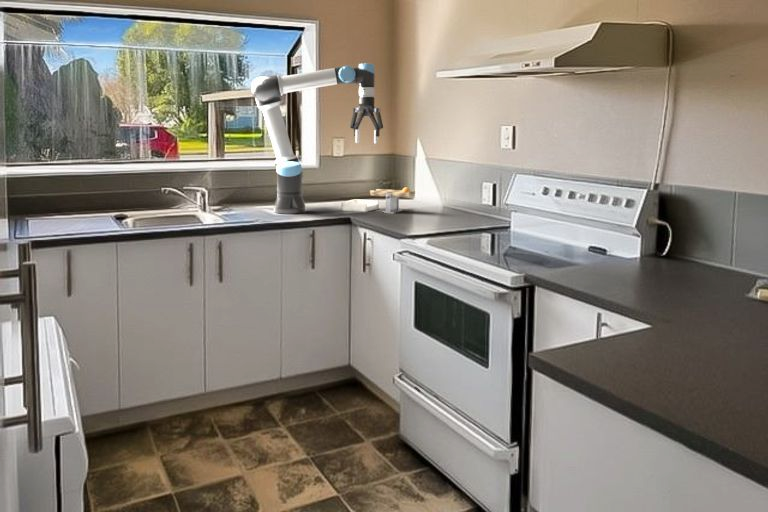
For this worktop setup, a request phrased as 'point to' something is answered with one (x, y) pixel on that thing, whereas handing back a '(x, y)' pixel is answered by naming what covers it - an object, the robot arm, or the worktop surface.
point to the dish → (360, 205)
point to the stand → (392, 204)
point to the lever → (392, 193)
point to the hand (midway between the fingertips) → (366, 143)
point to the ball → (406, 189)
